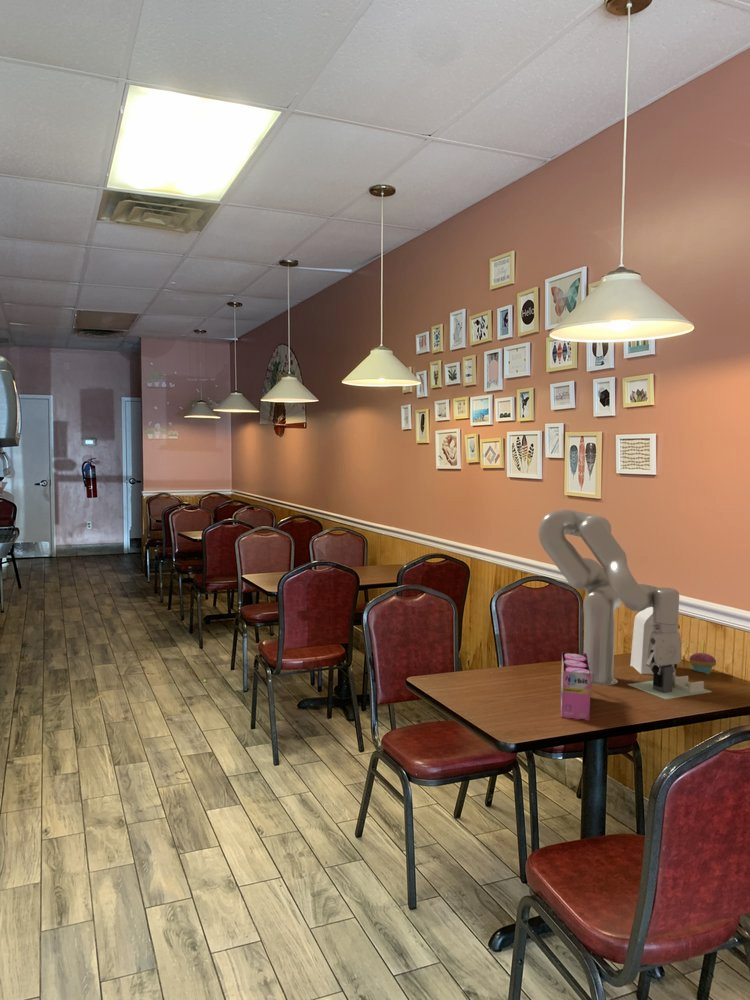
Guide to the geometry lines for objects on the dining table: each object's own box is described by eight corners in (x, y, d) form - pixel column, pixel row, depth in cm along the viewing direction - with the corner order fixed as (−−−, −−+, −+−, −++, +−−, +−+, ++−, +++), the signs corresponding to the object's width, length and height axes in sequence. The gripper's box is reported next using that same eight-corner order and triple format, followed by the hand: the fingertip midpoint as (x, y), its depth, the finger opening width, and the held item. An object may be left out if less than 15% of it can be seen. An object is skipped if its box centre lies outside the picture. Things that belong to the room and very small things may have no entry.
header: (690, 693, 231) (690, 683, 231) (673, 686, 237) (673, 677, 237) (703, 690, 233) (704, 681, 233) (686, 684, 239) (686, 675, 239)
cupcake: (689, 668, 263) (690, 635, 262) (715, 672, 259) (717, 638, 258) (688, 675, 255) (689, 640, 254) (715, 678, 251) (716, 643, 251)
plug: (663, 693, 230) (664, 667, 230) (651, 688, 235) (652, 663, 234) (672, 691, 232) (673, 666, 231) (659, 687, 236) (660, 662, 236)
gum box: (560, 692, 233) (561, 650, 232) (586, 695, 231) (587, 652, 230) (560, 718, 210) (562, 670, 209) (590, 721, 208) (591, 673, 207)
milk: (630, 667, 263) (632, 595, 261) (663, 668, 262) (665, 595, 261) (640, 677, 251) (643, 601, 249) (675, 678, 250) (678, 602, 249)
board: (665, 703, 224) (665, 699, 224) (626, 688, 239) (627, 684, 239) (712, 695, 233) (712, 691, 233) (672, 681, 247) (672, 677, 247)
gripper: (654, 632, 225) (652, 691, 226) (693, 628, 232) (691, 685, 233) (636, 627, 232) (633, 684, 233) (675, 623, 239) (672, 679, 240)
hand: (662, 684), depth 233 cm, fingers closed on plug, 3 cm apart
